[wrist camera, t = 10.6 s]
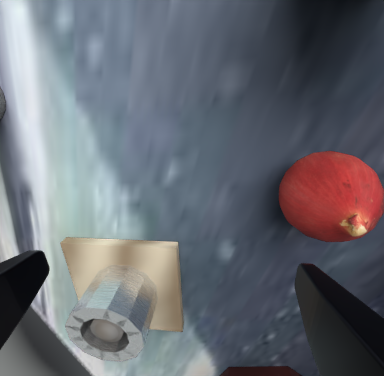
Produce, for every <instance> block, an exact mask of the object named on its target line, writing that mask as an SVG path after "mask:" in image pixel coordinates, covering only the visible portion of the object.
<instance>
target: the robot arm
mask: <svg viewBox="0 0 384 376" xmlns="http://www.w3.org/2000/svg"><path fill="white" fill-rule="evenodd" d="M48 274H49V265H48V262H47V259H46V257H45V254H44V252H43V251H41V250H29V251H27V252H24V253H22V254H20V255H18V256H15V257H13V258H11V259H8V260H6V261H4V262H1V263H0V350H1V348H2V347H3V345H4V343H5V342H6V341H7V340H8V338H9V337H10V335H11V334H12V332H13V331H14V329H15V328H16V327H17V325H18V324H19V322H20V321H21V319H22V318H23V316H24V315H25V313H26V311H27V310H28V308H29V307H30V305H31V303H32V301H33V300H34V298H35V296H36V295H37V293H38V291H39V289H40V288H41V286H42V284H43V283H44V281H45V279H46V278H47V276H48ZM295 291H296V295H297V299H298V303H299V307H300V311H301V315H302V319H303V323H304V327H305V331H306V335H307V339H308V342H309V345H310V348H311V351H312V354H313V357H314V359H315V362H316V365H317V368H318V371H319V373H320V376H384V318H382V317H381V316H380V315H378V314H377V313H376V312H375V311H373V310H372V309H371V308H369V307H368V306H367V305H365V304H364V303H363V302H362V301H360V300H359V299H358V298H356V297H355V296H354V295H353V294H351V293H350V292H349V291H347V290H346V289H345V288H344V287H342V286H341V285H340V284H338V283H337V282H336V281H335V280H333V279H332V278H331V277H329V276H328V275H327V274H325V273H324V272H323V271H322V270H320V269H319V268H318V267H316V266H315V265H313V264H306V263H301V264H299V265H298V269H297V274H296V279H295Z"/></svg>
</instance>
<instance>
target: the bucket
mask: <svg viewBox="0 0 384 376" xmlns="http://www.w3.org/2000/svg"><path fill="white" fill-rule="evenodd" d="M220 376H302V375H300V374H299V373H297V372H296V371H294V370H293V369H291V368H290V367H288V366H273V367H228V368H227V369H226V370H225V371H224V372H223V373H222V374H221V375H220Z"/></svg>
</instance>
